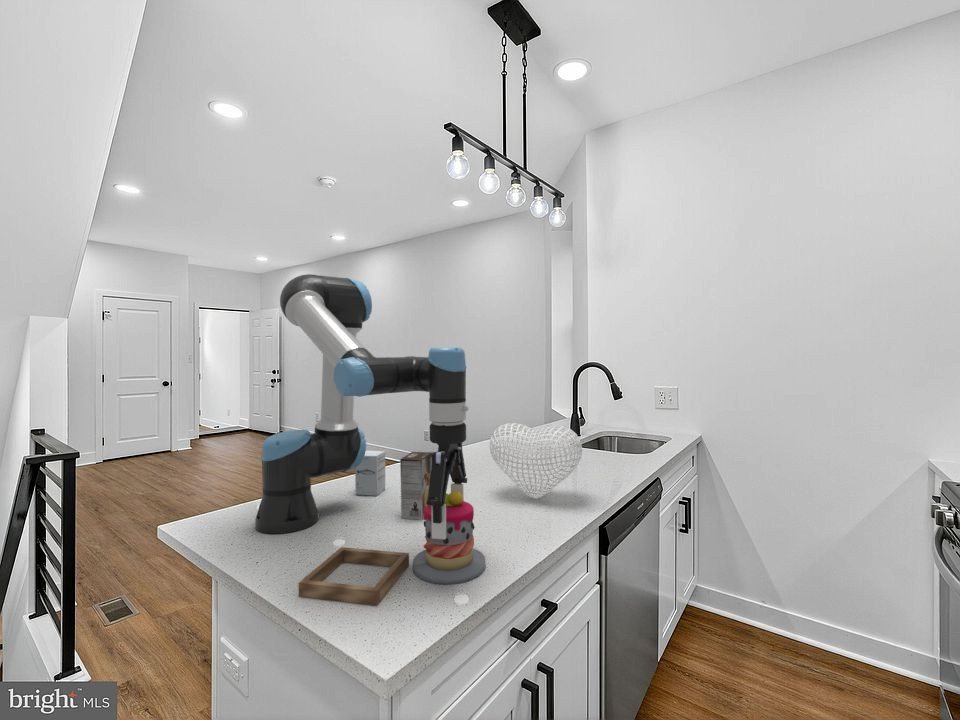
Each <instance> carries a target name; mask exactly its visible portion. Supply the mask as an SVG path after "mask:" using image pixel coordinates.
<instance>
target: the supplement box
mask: <svg viewBox="0 0 960 720" xmlns="http://www.w3.org/2000/svg"><path fill="white" fill-rule="evenodd" d="M354 469H355V470H354V471H355V473H354V474H355V475H354V477H355V485H354V486H355V490H354V492H355V496H373V497H378V496H379V495H380V494H381V493H383V492H384V491H385V490H386V450H384V451H383V450H366V452H365V456H364V459H363V461H362V462H361V464H360V465H358V467H356V468H354Z"/></svg>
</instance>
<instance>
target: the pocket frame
mask: <svg viewBox="0 0 960 720" xmlns="http://www.w3.org/2000/svg"><path fill="white" fill-rule="evenodd" d="M344 562H345V563H355V564H362V565H374V566H386V567H389V568H388V570H387V571H386V572H385V573H384V574H383V576H382V577H381V578H380V579H379V581H377V583H375V585H374V586H368V585H367V586H365V585H357V584H346V583H341V582H340V583H338V582H329V581H324V580H325V579H326V578H328V576H330V575H331V574H332V573H333V572H334V571H335V570H337V568H338V567H339V566H340V564H341V565H342V564H343V563H344ZM409 566H410V553H409V552H401V551H400V552H398V551H390V550H389V551H388V550H378V549H366V548H355V547H354V548H353V547H344V546H341V547H339V548H338V549H336V551H335V552H333V553H332V554H331V555H330V556H328V558H326V559H325V560H324V561H323V562H322V563H320V564H319V565H318V566H317V567H315V568H314V569H313V570H312V571H311V572H310V573H308V574H307V575H306V576H305V577H304V578H302V579H301V580H300V581H299V582H298V585H297V586H298V597H301V596H302V597H303V598H310V599H317V600H319V599H320V600H328V601H336V602H345V603H353V604H354V603H355V604H361V605H362V604H363V605H369V606H370V605H371V606H378V605H379V604H380V603H381V602H382V600H383V599H384V598H385V596H386V595H387V594H388V593H389V591H390V590H391V589H392V587H393V586H394V585H395V584H396V582H397V581H398V580H399V579H400V577H401V576H402V575H403V574H404V572H406V570H407V569H408V567H409ZM321 581H322V582H321ZM302 597H301V598H302Z"/></svg>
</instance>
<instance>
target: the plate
mask: <svg viewBox="0 0 960 720" xmlns="http://www.w3.org/2000/svg"><path fill="white" fill-rule="evenodd" d="M485 569H486V557H485V555H484V554H483V552H481V550H478V549H477V548H474V547H473V561H472V563H471V564H469V565H468V566H467V567H464V568H462V569H457V570H449V571H445V570H437V569H434V568H432V567H430V566H428V565H427V563H426V549H423V550H422V551H420V552H418V553H417V554H415V556H414V557H413V559H412V572H413V574H414V575H415V577H417V578H418V579H420V580H422V581H424V582H427V583H431V584H435V585H436V584H437V585H456V584H462V583H465V582H469V581H472V580H474V579H476V578H478V577H480V574H481V573H482V572H483V573H484V571H485ZM483 573H482V574H483ZM482 574H481V575H482ZM477 576H478V577H477ZM471 579H472V580H471Z"/></svg>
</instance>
